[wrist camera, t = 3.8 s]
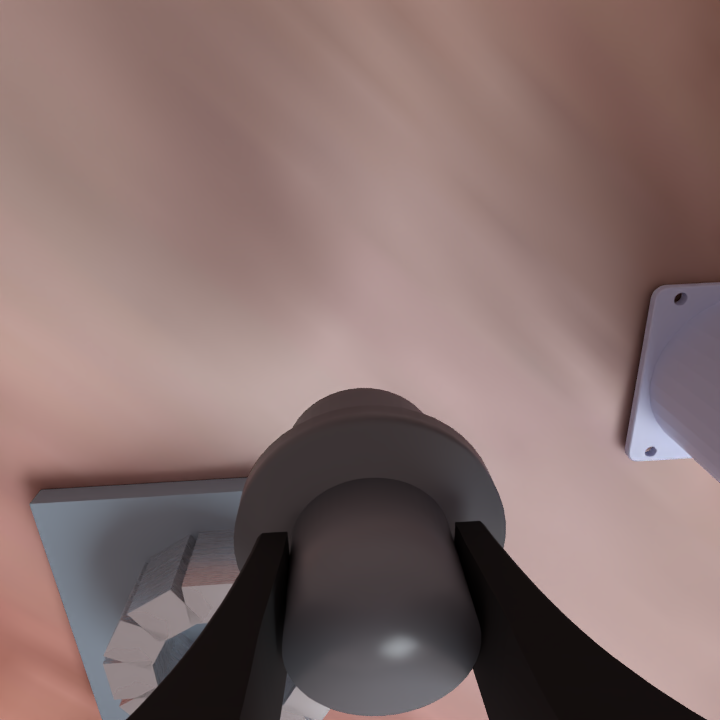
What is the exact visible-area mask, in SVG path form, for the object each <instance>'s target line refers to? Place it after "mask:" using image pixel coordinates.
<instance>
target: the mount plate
mask: <svg viewBox="0 0 720 720" xmlns="http://www.w3.org/2000/svg"><path fill="white" fill-rule="evenodd" d="M247 478H248V477H247ZM247 478H230V479H213V480H196V481H180V482H163V483H146V484H129V485H112V486H96V487H79V488H62V489H45V490H40V491H39V493H38V494H37V495H36V496H35V498H34V499H33V500H32V501H31V503H30V507H31V510H32V513H33V516H34V519H35V522H36V525H37V528H38V531H39V534H40V537H41V540H42V543H43V546H44V549H45V552H46V555H47V558H48V561H49V563H50V566H51V569H52V572H53V575H54V578H55V581H56V584H57V587H58V590H59V593H60V596H61V599H62V602H63V605H64V608H65V611H66V614H67V617H68V620H69V623H70V626H71V629H72V632H73V635H74V638H75V641H76V643H77V646H78V649H79V652H80V655H81V658H82V661H83V664H84V667H85V670H86V673H87V676H88V679H89V682H90V685H91V688H92V691H93V694H94V697H95V700H96V703H97V706H98V709H99V712H100V715H101V718H102V720H126V719H127V718H128V717H129V716H130V715H129V714H128V713H127V712H125V711H124V710H123V709H121V708H120V707H119V705H120V703H121V700H122V699H118V700H114V698H113V695H112V692H111V689H110V685H109V682H108V679H107V676H106V673H105V670H104V667H103V662H104V660H105V657H104V656H103V655H104V653H105V651H106V649H107V646H108V644H109V642H110V639H111V637H112V635H113V632H114V630H115V628H116V625H117V623H118V621H119V619H120V616H121V614H122V612H123V609H124V607H125V605H126V602H127V600H128V598H129V595H130V593H131V591H132V589H133V587H134V585H135V583H136V581H137V579H138V577H139V575H140V573H141V570H142V568H143V566H144V564H145V562H146V563H149V561H150V558H151V556H153V555H154V554H156V553H158V552H160V551H161V550H163V549H165V548H167V547H168V546H170V545H172V544H174V543H175V542H177V541H179V540H181V539H182V538H184V537H186V536H188V535H189V534H190V535H191V536H192V537H193V538H194V539H195V540H196V541H197V538H198V535H199V532H200V531H214V530H230V529H234V528H235V521H236V517H237V513H238V508H239V504H240V500H241V496H242V492H243V488H244V485H245V482H246V480H247ZM206 625H207V623H203V624H196V625H194V626H192V627H190V628H188V629H187V630H185V631H183V632H182V633H183V634H184V635H185V636H186V637H187V638H189V639H190V640H191V641H192V642H193V643H194V642H195V640H196V639H197V638H198V636H199V635H200V633H201V632H202V631H203V629H204V628H205V626H206Z"/></svg>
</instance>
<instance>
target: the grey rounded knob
mask: <svg viewBox="0 0 720 720" xmlns="http://www.w3.org/2000/svg"><path fill="white" fill-rule="evenodd" d="M467 521H481V522H482V523H483V524H484V525H485V526H486V527H487V529H488V530H489V531H490V533H491V534H492V535H493V536H494V538H495V539H496V540H497V541H498V543H499V544H500V545H501V546H502V548H503V547H504V542H505V534H506V521H505V515H504V508H503V505H502V502H501V499H500V496H499V493H498V491H497V489H496V487H495V485H494V483H493V481H492V478H491V476H490V474H489V472H488V470H487V468H486V466H485V464H484V462H483V460H482V458H481V457H480V456H479V454H478V453H477V452H476V450H475V449H474V448H473V446H472V445H471V444H470V443H469V442H468V441H467V440H466V439H465V438H464V437H463V436H462V435H460V434H459V433H458V432H456V431H455V430H454V429H452V428H451V427H450V426H448V425H446V424H444V423H442V422H441V421H439V420H437V419H435V418H433V417H430V416H428V415H425V414H423V413H422V412H421V411H420V410H419V409H418V408H417V407H416V406H415V405H414V404H412V403H411V402H409V401H408V400H406V399H404V398H403V397H401V396H399V395H396V394H394V393H391V392H388V391H384V390H380V389H372V388H357V389H348V390H344V391H340V392H337V393H334V394H331V395H329V396H327V397H325V398H323V399H321V400H319V401H318V402H316V403H315V404H313V405H312V406H311V407H309V408H308V409H307V410H306V411H305V412H304V413H303V414H302V415H301V416H300V417H299V419H298V420H297V422H296V423H295V425H294V426H293V428H292V429H290V430H289V431H287V432H286V433H284V434H283V435H281V436H280V437H279V438H278V439H277V440H276V441H275V442H273V443H272V444H271V445H270V446H269V447H268V448H267V449H266V451H265V452H264V453H263V454H262V455H261V456H260V457H259V459H258V460H257V462H256V463H255V465H254V467H253V468H252V470H251V471H250V474H249V476H248V478H247V480H246V482H245V485H244V488H243V492H242V496H241V500H240V504H239V508H238V513H237V517H236V521H235V528H234V538H233V540H234V554H235V558H236V562H237V566H238V569H239V571H241V569H242V568H243V566H244V564H245V562H246V560H247V558H248V556H249V555H250V553H251V551H252V548H253V546H254V544H255V542H256V540H257V538H258V536H259V535H260V534H261V533H269V532H287V533H288V543H289V552H290V558H289V570H288V582H287V593H286V605H285V617H284V629H283V641H282V657H283V662H284V666H285V669H286V671H287V673H288V675H289V677H290V678H291V680H292V682H293V683H294V684H295V685H296V686H297V687H298V689H299V690H300V691H302V692H303V693H304V694H305V695H306V696H307V697H309V698H311V699H312V700H314V701H315V702H317V703H319V704H321V705H323V706H325V707H327V708H330V709H333V710H336V711H339V712H343V713H347V714H354V715H362V716H385V715H394V714H399V713H404V712H409V711H412V710H415V709H418V708H421V707H424V706H426V705H429V704H431V703H433V702H435V701H437V700H439V699H440V698H442V697H444V696H445V695H447V694H448V693H450V692H451V691H452V690H453V689H455V688H456V687H457V686H458V685H459V684H460V683H461V682H462V681H463V680H464V679H465V678H466V677H467V675H468V674H469V673H470V671H471V670H472V668H473V666H474V665H475V663H476V661H477V658H478V655H479V652H480V647H481V629H480V624H479V621H478V617H477V614H476V611H475V608H474V604H473V601H472V598H471V595H470V591H469V588H468V585H467V582H466V578H465V575H464V572H463V569H462V565H461V562H460V559H459V556H458V552H457V549H456V546H455V543H454V536H455V522H467Z"/></svg>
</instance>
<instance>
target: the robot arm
mask: <svg viewBox="0 0 720 720" xmlns="http://www.w3.org/2000/svg"><path fill="white" fill-rule="evenodd" d="M679 293H682V296H681V298H680V300H679V301H677V302H674V298H675V296H676V295H677V294H679ZM649 447H652V448H651V449H650V450H649V451H647V452H645V451H646V449H647V448H649ZM625 453H626V455H627V456H628V457H629V458H630V459H631V460H633V461H651V460H668V459H685V458H693V459H694V460H695V461H696V462H698V463H699V464H700V465H701V466H702V467H703V468H704V469H705V470H706V471H707V472H708V473H709V474H710V475H712V476H713V477H714V478H715V479H716V480H717V481H718V482H719V483H720V282H713V283H694V284H674V285H663V286H660V287H658V288H657V289H656V290H655V291H654V292H653V294H652V296H651V300H650V306H649V312H648V318H647V323H646V329H645V335H644V341H643V346H642V352H641V358H640V364H639V370H638V375H637V381H636V387H635V393H634V398H633V404H632V410H631V416H630V421H629V427H628V433H627V439H626V444H625ZM454 543H455V546H456V549H457V552H458V556H459V559H460V562H461V565H462V569H463V572H464V575H465V578H466V582H467V585H468V588H469V591H470V595H471V598H472V601H473V604H474V608H475V611H476V614H477V617H478V621H479V624H480V629H481V647H480V652H479V655H478V658H477V661H476V663H475V665H474V666H473V670H474V674H475V677H476V680H477V683H478V686H479V689H480V692H481V696H482V699H483V702H484V705H485V708H486V711H487V715H488V718H489V720H707V719H705V718H703V717H701V716H700V715H698V714H696V713H695V712H693V711H691V710H690V709H688V708H686V707H685V706H683V705H682V704H680V703H679V702H677V701H676V700H674V699H672V698H671V697H669V696H668V695H666V694H665V693H663V692H662V691H660V690H659V689H657V688H656V687H654V686H653V685H651V684H650V683H648V682H647V681H646V680H644V679H643V678H642V677H640V676H639V675H637V674H636V673H635V672H633V671H632V670H631V669H629V668H628V667H626V666H625V665H624V664H622V663H621V662H620V661H618V660H617V659H616V658H614V657H613V656H612V655H610V654H609V653H608V652H607V651H605V650H604V649H603V648H602V647H600V646H599V645H598V644H597V643H596V642H594V641H593V640H592V639H591V638H590V637H589V636H587V635H586V634H585V633H584V632H583V631H582V630H581V629H579V628H578V627H577V626H576V625H575V624H574V623H573V622H572V621H571V620H570V619H569V618H567V617H566V616H565V615H564V614H563V613H562V612H561V611H560V610H559V609H558V608H557V607H556V606H555V605H554V604H553V603H552V602H551V601H550V600H549V599H548V598H547V597H546V596H545V595H544V594H543V593H542V592H541V591H540V590H539V589H538V588H537V586H536V585H535V584H534V583H533V582H532V581H531V580H530V579H529V578H528V577H527V575H526V574H525V573H524V572H523V571H522V570H521V569H520V568H519V567H518V565H517V564H516V563H515V562H514V561H513V560H512V558H511V557H510V556H509V555H508V554H507V552H506V551H505V550H504V549H503V548H502V546H501V545H500V544H499V543H498V541H497V540H496V539H495V538H494V536H493V535H492V534H491V533H490V531H489V530H488V529H487V527H486V526H485V525H484V524H483V523H482V522H481V521H467V522H455V536H454ZM289 558H290V552H289V543H288V533H287V532H269V533H261V534H260V535H259V536H258V538H257V540H256V542H255V544H254V546H253V548H252V551H251V553H250V555H249V556H248V558H247V560H246V562H245V564H244V566H243V568H242V569H241V571H240V573H239V575H238V577H237V578H236V580H235V582H234V583H233V585H232V587H231V588H230V590H229V591H228V593H227V595H226V596H225V598H224V600H223V601H222V603H221V604H220V606H219V607H218V609H217V610H216V612H215V613H214V615H213V616H212V618H211V619H210V620H209V622H208V623H207V625H206V626H205V628H204V629H203V631H202V632H201V633H200V635H199V636H198V638H197V639H196V640H195V642H194V643H193V644H192V646H191V647H190V648H189V649H188V651H187V652H186V653H185V655H184V656H183V657H182V658H181V659H180V661H179V662H178V663H177V664H176V666H175V667H174V668H173V669H172V670H171V672H170V673H169V674H168V675H167V676H166V677H165V678H164V680H163V681H162V682H161V683H160V684H159V685H158V686H157V687H156V689H155V690H154V691H153V692H152V693H151V694H150V695H149V696H148V697H147V698H146V700H145V701H144V702H143V703H142V704H141V705H140V706H139V707H138V708H137V709H136V710H135V711H134V712H133V713H132V714H131V715H130V716H129V717H128V718H127V719H126V720H280V717H281V711H282V704H283V697H284V691H285V684H286V677H287V671H286V669H285V666H284V662H283V657H282V641H283V629H284V617H285V605H286V593H287V582H288V570H289Z"/></svg>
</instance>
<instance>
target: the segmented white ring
mask: <svg viewBox="0 0 720 720" xmlns="http://www.w3.org/2000/svg"><path fill="white" fill-rule="evenodd" d="M233 538H234V529H230V530H214V531H200V532H199V535H198V538H197V541H196V540H195V539H194V538H193V537H192V536H191V535H190V534H189V535H188V536H186V537H184V538H182V539H181V540H179V541H177V542H175V543H174V544H172V545H170V546H168V547H167V548H165V549H163V550H161V551H160V552H158V553H156V554H154V555H153V556H151V558H150V561H149V563H146V562H145V564H144V566H143V568H142V570H141V573H140V575H139V577H138V579H137V581H136V583H135V585H134V587H133V589H132V591H131V593H130V595H129V598H128V600H127V602H126V605H125V607H124V609H123V612H122V614H121V616H120V619H119V621H118V623H117V625H116V628H115V630H114V632H113V635H112V637H111V639H110V642H109V644H108V646H107V649H106V651H105V653H104V655H103V656H104V657H105V660H104V662H103V667H104V670H105V673H106V676H107V679H108V682H109V685H110V689H111V692H112V695H113V698H114V700H118V699H122V700H121V703H120V705H119V707H120V708H121V709H123V710H124V711H125V712H127V713H128V714H129V715H131V714H132V713H133V712H134V711H135V710H136V709H137V708H138V707H139V706H140V705H141V704H142V703H143V702H144V701H145V700H146V698H147V697H148V696H149V695H150V694H151V693H152V692H153V691H154V690H155V689H156V687H157V686H158V685H159V684H160V683H161V682H162V681H163V680H164V678H165V677H166V676H167V675H168V674H169V673H170V672H171V670H172V669H173V668H174V667H175V666H176V664H177V663H178V662H179V661H180V659H181V658H182V657H183V656H184V655H185V653H186V652H187V651H188V649H189V648H190V647H191V646H192V644H193V642H192V641H191V640H190V639H189V638H187V637H186V636H185V635H184V634H183V633H182V632H183V631H185V630H187V629H188V628H190V627H192V626H194V625H196V624H203V623H208V622H209V620H210V619H211V618H212V616H213V615H214V613H215V612H216V610H217V609H218V607H219V606H220V604H221V603H222V601H223V600H224V598H225V596H226V595H227V593H228V591H229V590H230V588H231V587H232V585H233V583H234V582H235V580H236V578H237V577H238V575H239V573H240V571H239V569H238V566H237V562H236V558H235V554H234V540H233ZM329 710H330V708H327V707H325V706H323V705H321V704H319V703H317V702H315V701H314V700H312V699H311V698H309V697H307V696H306V695H305V694H304V693H303V692H302V691H300V690H299V689H298V687H297V686H296V685H295V684H294V683H293V682H292V680H291V678H290V677H289V675H288V673H287V677H286V684H285V691H284V697H283V704H282V711H281V717H280V720H323V718H324V717H325V716H326V714H327V713H328V711H329Z"/></svg>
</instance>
